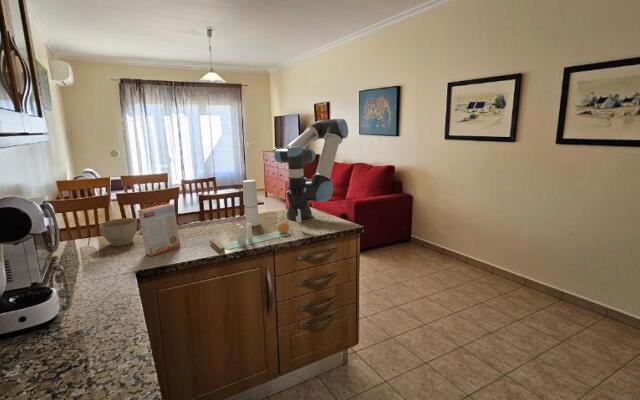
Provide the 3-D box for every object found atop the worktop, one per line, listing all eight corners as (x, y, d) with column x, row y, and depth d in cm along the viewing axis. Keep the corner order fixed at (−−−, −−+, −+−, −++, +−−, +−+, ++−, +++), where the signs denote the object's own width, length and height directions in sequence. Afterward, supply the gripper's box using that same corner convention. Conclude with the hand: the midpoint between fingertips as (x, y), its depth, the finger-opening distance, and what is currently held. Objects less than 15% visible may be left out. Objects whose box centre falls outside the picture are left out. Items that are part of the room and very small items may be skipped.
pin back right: (241, 240, 168) (239, 223, 166) (243, 241, 166) (241, 224, 164) (236, 241, 166) (234, 224, 164) (238, 242, 164) (236, 225, 162)
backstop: (214, 243, 165) (214, 238, 164) (225, 252, 152) (224, 247, 151) (210, 244, 164) (209, 239, 163) (220, 254, 151) (220, 248, 150)
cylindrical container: (260, 222, 197) (257, 179, 191) (257, 226, 190) (253, 181, 185) (248, 222, 198) (244, 179, 192) (244, 226, 191) (240, 182, 185)
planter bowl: (98, 250, 162) (94, 228, 160) (109, 240, 177) (105, 220, 175) (136, 246, 166) (132, 224, 164) (143, 236, 181) (139, 216, 179)
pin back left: (245, 243, 163) (243, 225, 162) (247, 244, 162) (245, 227, 160) (240, 244, 162) (238, 226, 160) (242, 245, 160) (240, 228, 158)
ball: (285, 230, 180) (285, 219, 178) (291, 233, 175) (290, 222, 173) (275, 233, 177) (274, 221, 175) (280, 235, 172) (280, 224, 170)
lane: (284, 230, 181) (284, 229, 181) (292, 234, 173) (292, 233, 173) (220, 244, 163) (220, 244, 163) (227, 249, 156) (227, 249, 156)
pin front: (251, 239, 168) (250, 223, 166) (253, 241, 166) (252, 224, 164) (247, 240, 167) (245, 224, 165) (248, 242, 165) (247, 225, 163)
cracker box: (174, 245, 165) (168, 202, 161) (180, 247, 162) (174, 204, 157) (144, 254, 155) (137, 209, 150) (151, 257, 151) (143, 211, 147)
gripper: (303, 174, 181) (305, 218, 186) (281, 177, 174) (284, 222, 179) (311, 176, 175) (313, 220, 180) (288, 179, 168) (291, 225, 173)
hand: (298, 221), depth 179 cm, fingers closed
